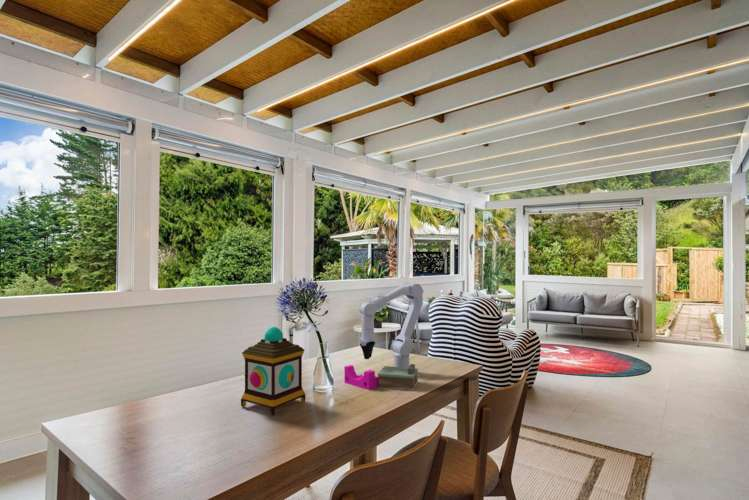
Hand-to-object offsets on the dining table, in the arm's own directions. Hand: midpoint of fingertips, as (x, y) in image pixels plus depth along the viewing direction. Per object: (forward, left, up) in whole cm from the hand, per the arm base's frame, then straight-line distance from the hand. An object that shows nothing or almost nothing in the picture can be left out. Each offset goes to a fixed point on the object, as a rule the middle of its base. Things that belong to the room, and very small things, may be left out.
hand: (367, 358), depth 197 cm
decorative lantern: (+43, -25, -10) cm, 50 cm away
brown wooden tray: (+6, +16, -9) cm, 19 cm away
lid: (+6, +16, -4) cm, 17 cm away
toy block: (+10, 0, -10) cm, 14 cm away
